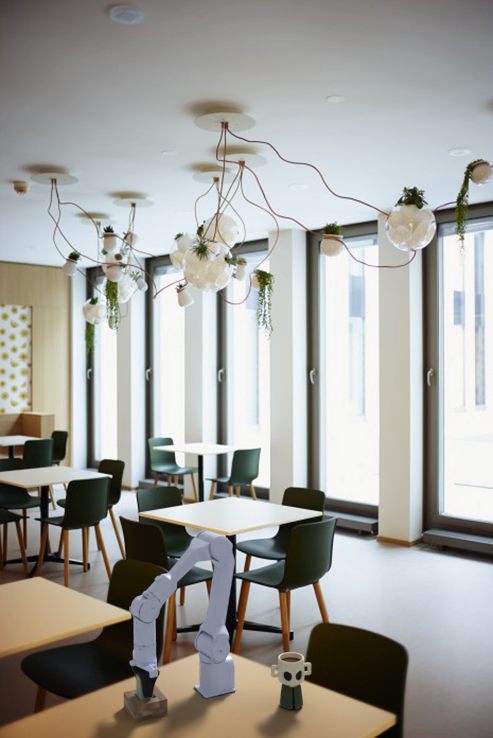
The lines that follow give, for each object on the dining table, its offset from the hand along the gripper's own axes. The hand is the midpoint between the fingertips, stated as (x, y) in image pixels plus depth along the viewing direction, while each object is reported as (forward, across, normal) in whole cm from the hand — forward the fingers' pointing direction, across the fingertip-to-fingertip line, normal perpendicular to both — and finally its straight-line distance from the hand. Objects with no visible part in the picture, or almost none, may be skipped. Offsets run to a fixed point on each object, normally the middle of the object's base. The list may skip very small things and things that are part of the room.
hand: (145, 693), depth 192 cm
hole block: (+4, 0, 0) cm, 4 cm away
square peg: (+3, 0, 0) cm, 3 cm away
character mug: (+5, +16, +36) cm, 39 cm away
